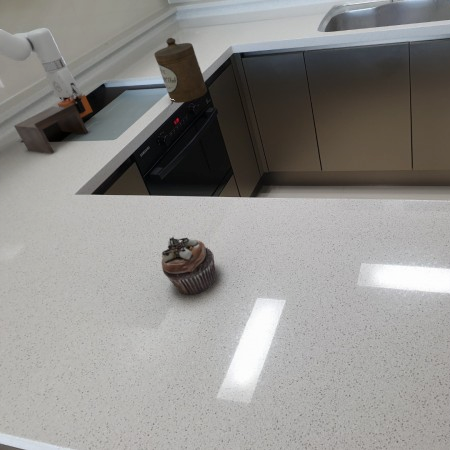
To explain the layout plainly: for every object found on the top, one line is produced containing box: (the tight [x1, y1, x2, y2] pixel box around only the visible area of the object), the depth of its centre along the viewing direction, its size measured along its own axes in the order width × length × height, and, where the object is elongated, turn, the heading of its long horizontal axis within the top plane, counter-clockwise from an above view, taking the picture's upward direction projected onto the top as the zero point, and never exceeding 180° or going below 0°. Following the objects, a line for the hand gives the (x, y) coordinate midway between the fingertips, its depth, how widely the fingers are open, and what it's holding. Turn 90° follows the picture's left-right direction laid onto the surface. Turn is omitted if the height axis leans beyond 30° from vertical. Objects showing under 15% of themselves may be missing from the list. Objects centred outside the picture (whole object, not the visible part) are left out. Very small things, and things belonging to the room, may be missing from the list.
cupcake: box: [161, 236, 217, 296], centre depth 86 cm, size 10×10×10 cm
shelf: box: [13, 104, 89, 154], centre depth 164 cm, size 14×16×11 cm
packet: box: [57, 93, 93, 119], centre depth 176 cm, size 5×9×7 cm, turn 151°
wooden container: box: [153, 37, 208, 104], centre depth 176 cm, size 15×15×22 cm
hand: (77, 111), depth 177 cm, fingers closed on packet, 5 cm apart
